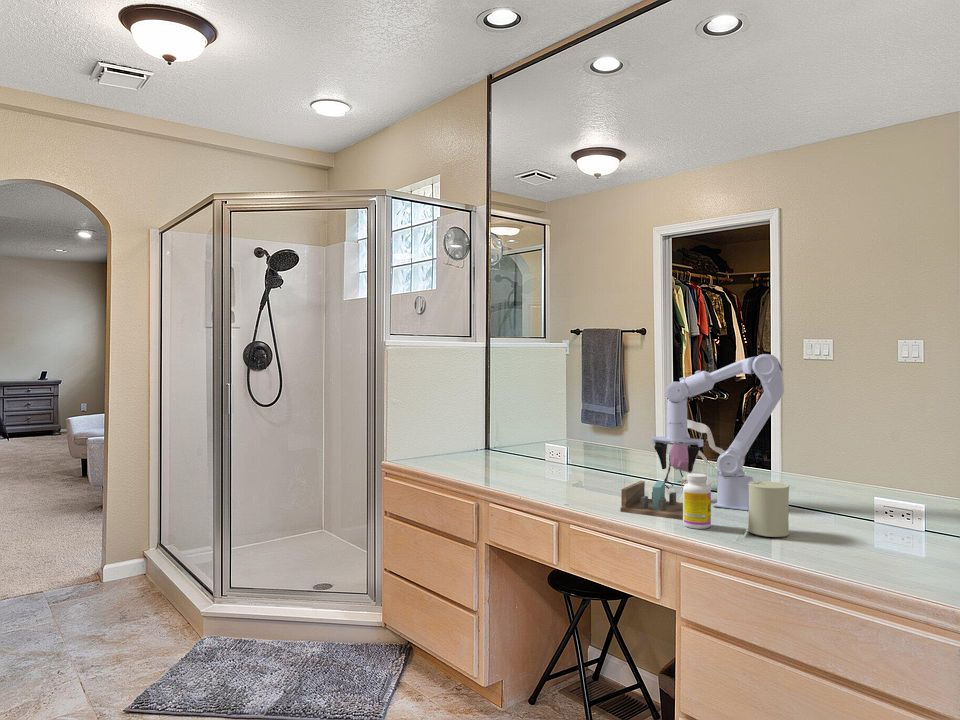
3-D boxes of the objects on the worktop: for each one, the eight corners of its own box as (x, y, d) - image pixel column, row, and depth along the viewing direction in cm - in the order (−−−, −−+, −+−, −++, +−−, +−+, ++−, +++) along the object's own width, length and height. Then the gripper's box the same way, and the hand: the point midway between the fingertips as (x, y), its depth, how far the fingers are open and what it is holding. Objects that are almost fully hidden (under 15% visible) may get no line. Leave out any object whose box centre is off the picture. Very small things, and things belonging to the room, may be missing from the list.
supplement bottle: (712, 530, 167) (712, 477, 167) (684, 528, 169) (684, 476, 169) (708, 523, 174) (709, 473, 174) (681, 522, 175) (681, 472, 175)
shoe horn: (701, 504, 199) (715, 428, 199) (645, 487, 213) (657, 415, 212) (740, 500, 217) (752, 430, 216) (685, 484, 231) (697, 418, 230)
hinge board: (703, 508, 191) (703, 487, 191) (686, 520, 178) (686, 496, 178) (640, 501, 201) (640, 480, 201) (620, 511, 187) (620, 489, 187)
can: (754, 525, 172) (755, 477, 172) (793, 531, 167) (794, 482, 167) (742, 532, 165) (742, 482, 165) (782, 539, 159) (783, 487, 159)
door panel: (664, 502, 194) (664, 481, 194) (660, 509, 185) (660, 487, 185) (657, 501, 195) (657, 480, 195) (652, 509, 186) (652, 487, 186)
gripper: (706, 423, 199) (706, 470, 199) (656, 420, 207) (656, 465, 207) (700, 425, 193) (699, 473, 193) (649, 422, 201) (649, 469, 201)
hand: (677, 469), depth 200 cm, fingers open, 7 cm apart
